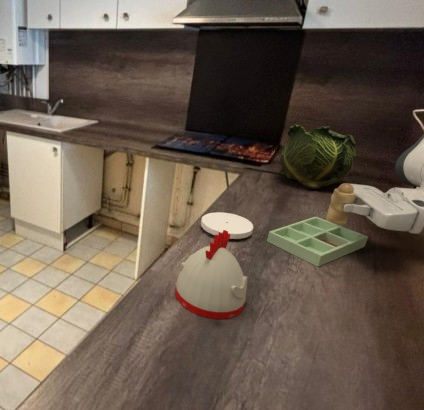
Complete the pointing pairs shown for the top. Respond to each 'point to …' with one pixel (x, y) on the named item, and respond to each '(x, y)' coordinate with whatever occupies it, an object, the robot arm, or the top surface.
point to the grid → (317, 240)
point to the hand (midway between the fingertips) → (337, 202)
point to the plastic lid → (227, 225)
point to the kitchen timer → (212, 281)
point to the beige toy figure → (340, 204)
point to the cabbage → (317, 156)
